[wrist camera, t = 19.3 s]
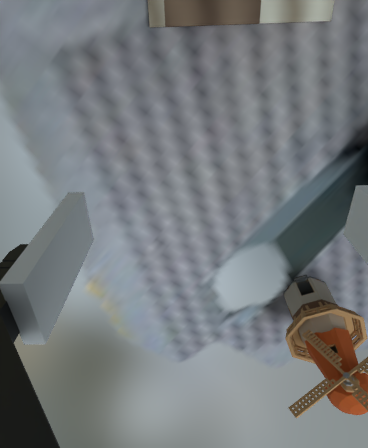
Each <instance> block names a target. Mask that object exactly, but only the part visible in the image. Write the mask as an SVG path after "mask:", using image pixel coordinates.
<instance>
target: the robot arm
mask: <svg viewBox="0 0 368 448" xmlns="http://www.w3.org/2000/svg"><path fill="white" fill-rule="evenodd" d="M343 235H344V236H345V237H346V238H347V240H348V241H349V242H350V243H351V245H352V246H353V247H354V248H355V250H356V251H357V252H358V253H359V255H360V256H361V257H362V258H363V259H364V261H365V262H366V263H367V264H368V185H362V186H356V188H355V192H354V196H353V200H352V203H351V207H350V211H349V214H348V218H347V222H346V226H345V229H344V233H343ZM93 240H94V238H93V233H92V229H91V224H90V219H89V214H88V209H87V204H86V200H85V195H84V192H76V193H68V194H67V195H66V196H65V198H64V199H63V200H62V202H61V203H60V204H59V206H58V207H57V208H56V209H55V211H54V212H53V213H52V215H51V216H50V217H49V219H48V220H47V221H46V222H45V224H44V225H43V226H42V228H41V229H40V230H39V232H38V233H37V234H36V235H35V237H34V238H33V240H32V241H31V242H30V243H29V244H20V245H19V246H18V247H16V248H15V249H13V250H12V251H10V252H9V253H8V254H7V255H6V257H5V258H4V259H3V261H2V262H1V263H0V448H60V446H59V444H58V442H57V440H56V438H55V435H54V433H53V431H52V429H51V426H50V424H49V422H48V419H47V417H46V415H45V413H44V410H43V408H42V406H41V404H40V401H39V400H38V397H37V395H36V393H35V390H34V388H33V386H32V384H31V381H30V379H29V377H28V375H27V372H26V370H25V368H24V366H23V363H22V361H21V359H20V357H19V355H18V352H17V350H16V348H15V345H14V341H15V339H16V338H17V336H18V334H20V336H21V338H22V341H23V343H24V344H46V342H47V340H48V338H49V336H50V334H51V331H52V329H53V327H54V325H55V323H56V321H57V318H58V316H59V314H60V312H61V310H62V308H63V305H64V303H65V301H66V299H67V297H68V295H69V292H70V290H71V288H72V286H73V284H74V281H75V280H76V277H77V275H78V273H79V271H80V269H81V266H82V264H83V262H84V260H85V258H86V256H87V253H88V251H89V249H90V247H91V245H92V243H93Z"/></svg>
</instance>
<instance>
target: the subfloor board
mask: <svg viewBox="0 0 368 448" xmlns="http://www.w3.org/2000/svg"><path fill="white" fill-rule="evenodd" d="M333 6H334V0H148V11H149V25H150V27H179V26H208V25H238V24H267V23H296V22H325V21H331V17H332V12H333Z"/></svg>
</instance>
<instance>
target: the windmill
mask: <svg viewBox="0 0 368 448" xmlns="http://www.w3.org/2000/svg"><path fill="white" fill-rule="evenodd" d="M294 280H295V281H293V282H292V283H291V284H290V286H289V287H288V288H287V290H286V291H285V292H284V297H285V300H286V303H287V306H288V308H289V311H290V314H291V316H292V318H293V320H294V321H293V323H292V324H291V325H290V326H289V327H288V329H287V333H286V341H287V344H288V346H289V349H290V352H291V354H292V357H294V358H298V359H301V360H304V361H308V362H311V363H315V364H316V365H317V366H318V368H319V369H320V371H321V372H322V374H323V375H324V377H325V378H326V379H325V380H323V381H322V382H321V383H319V384H318V385H317V386H316V387H314V388H313V389H312V390H311V391H309V392H308V393H307V394H305V395H304V396H303V397H302V398H300V399H299V400H298V401H297V402H295V403H294V404H293V405H291V406H290V407H289V409H290V411H291V412H292V413H293V415H294V416H295V417H296V418H298V417H299V416H300V415H302V414H303V413H304V412H305V411H307V410H308V409H309V408H310V407H312V406H313V405H314V404H315V403H317V402H318V401H319V400H320V399H322V398H323V397H324V396H325V395H327V396H328V398H329V400H330V401H331V403H332V404H333V405H334V406H335V407H337V408H338V409H339V410H341V411H342V412H345V413H348V414H353V415H361V414H365V413H366V412H368V375H367V374H368V371H367V370H366V369H368V365H367V364H366V363H368V357H367V358H366V359H365V360H363V361H362V362H361V363H360V364H358V361H357V358H356V355H355V350H356V349H357V348H358V347H359V346H360V345H361V344H362V343H363V342H364V341H365V340H366V339H367V334H366V329H365V323H364V318H363V317H361V316H360V315H358V314H356V313H355V312H354V311H351V310H348V309H345V308H342V307H339V306H338V305H337V304H336V303H335V301H334V299H333V297H332V295H331V293H330V291H329V289H328V287H327V285H326V284H325V282H323V281H321V280H318V279H315V278H312V277H307V275H304V276H301V277H297V278H294ZM356 335H357V336H356ZM355 336H356V337H355ZM353 337H355V338H354V339H353V340H351V339H352V338H353ZM359 339H360V340H359ZM358 340H359V341H358ZM357 341H358V342H357ZM356 342H357V343H356ZM355 343H356V344H355ZM297 350H300V351H297ZM301 351H303V352H301ZM307 353H309V354H307ZM363 365H364V366H365V368H364V367H363ZM360 368H361V369H362V370H360ZM363 371H365V372H366V373H367V374H366V373H362V372H363ZM326 381H327V382H328V383H327V384H326V383H325V382H326ZM322 384H324V386H322ZM319 386H320V387H321V388H320V389H319ZM315 389H317V390H318V391H316V390H315ZM322 390H324V392H322ZM312 392H314V394H313V393H312ZM319 392H320V393H321V394H320V395H319V394H318V393H319ZM309 394H310V395H311V396H310V397H309ZM315 395H317V396H318V397H315ZM305 397H307V398H308V399H306V398H305ZM311 398H314V400H312V399H311ZM302 400H304V402H303V401H302ZM309 400H310V401H311V402H310V403H309V402H308V401H309ZM299 402H300V403H301V404H299ZM305 403H307V405H305ZM296 404H297V407H296V406H295V405H296ZM302 405H303V406H304V408H302V407H301V406H302ZM293 407H294V410H293V409H292V408H293ZM299 408H300V409H301V410H300V411H299V410H298V409H299ZM295 411H297V413H295Z"/></svg>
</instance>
